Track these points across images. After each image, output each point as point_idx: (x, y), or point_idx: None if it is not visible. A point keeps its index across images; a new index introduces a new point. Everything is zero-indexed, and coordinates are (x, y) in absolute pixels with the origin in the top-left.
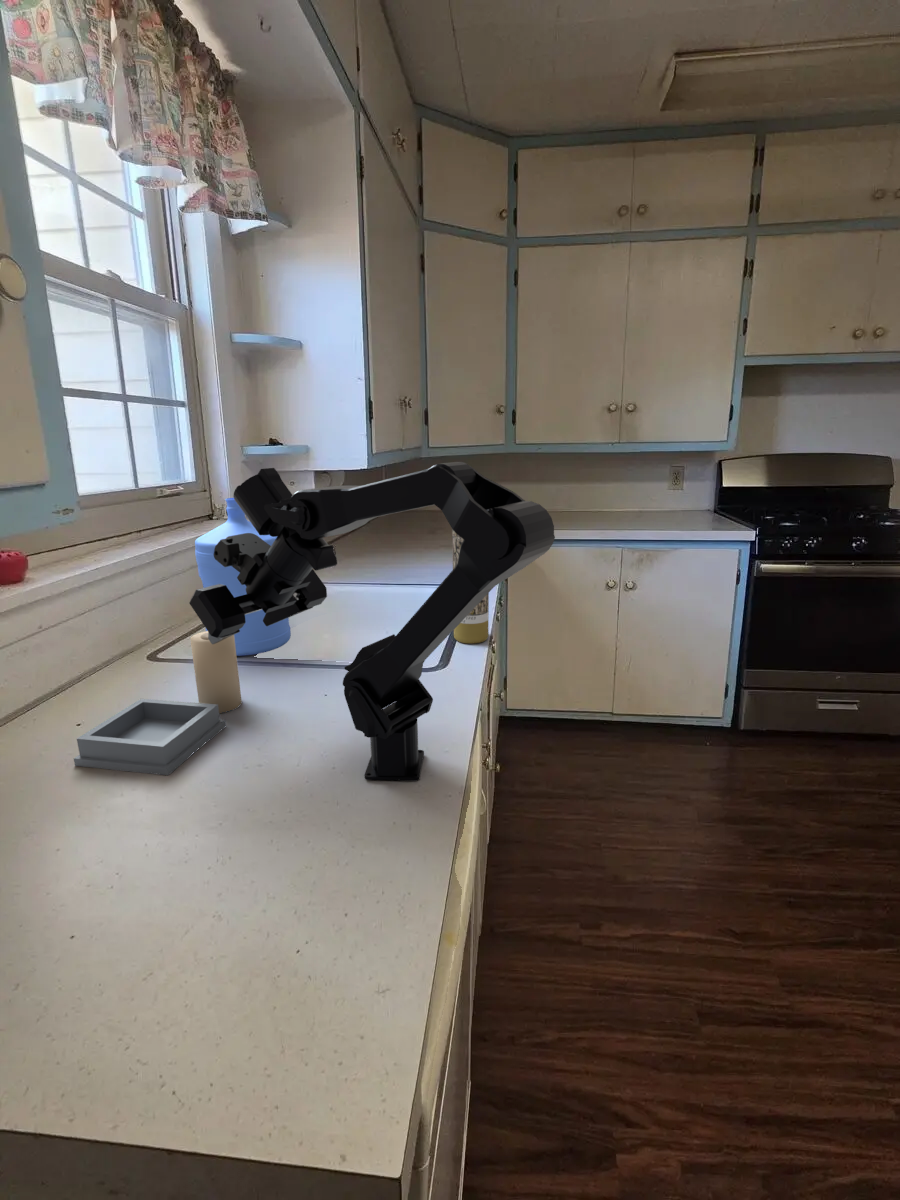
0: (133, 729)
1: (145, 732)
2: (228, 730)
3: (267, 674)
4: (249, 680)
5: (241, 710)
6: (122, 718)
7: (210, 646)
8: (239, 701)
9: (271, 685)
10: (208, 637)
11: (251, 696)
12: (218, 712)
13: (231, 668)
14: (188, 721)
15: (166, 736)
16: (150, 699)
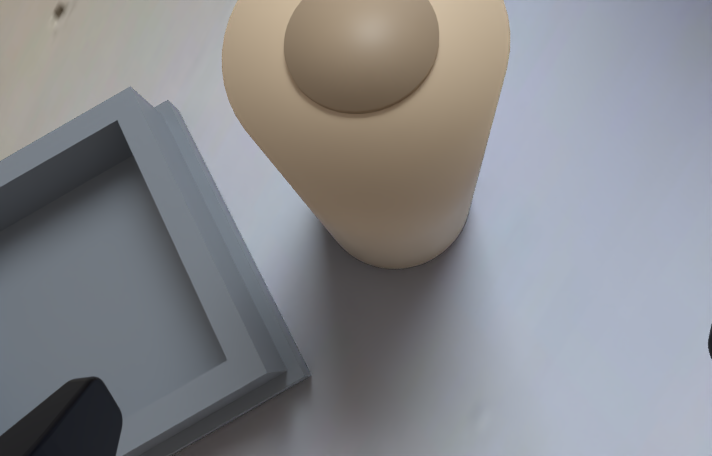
0: (87, 197)
1: (95, 247)
2: (299, 412)
3: (683, 63)
4: (593, 67)
5: (421, 296)
6: (30, 178)
7: (282, 166)
8: (440, 250)
9: (634, 176)
10: (58, 392)
11: (516, 211)
12: (273, 373)
13: (410, 229)
14: None
15: (115, 331)
16: (144, 118)
